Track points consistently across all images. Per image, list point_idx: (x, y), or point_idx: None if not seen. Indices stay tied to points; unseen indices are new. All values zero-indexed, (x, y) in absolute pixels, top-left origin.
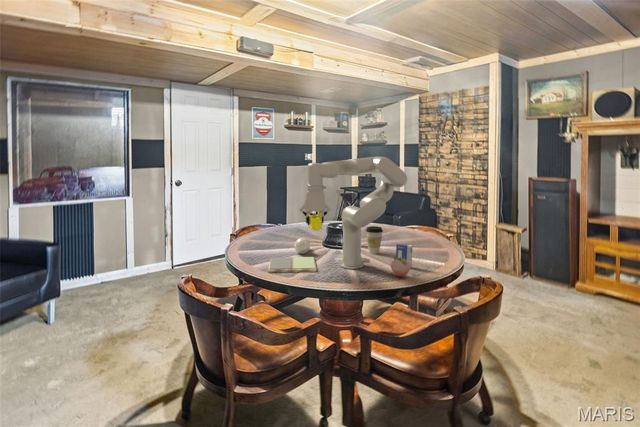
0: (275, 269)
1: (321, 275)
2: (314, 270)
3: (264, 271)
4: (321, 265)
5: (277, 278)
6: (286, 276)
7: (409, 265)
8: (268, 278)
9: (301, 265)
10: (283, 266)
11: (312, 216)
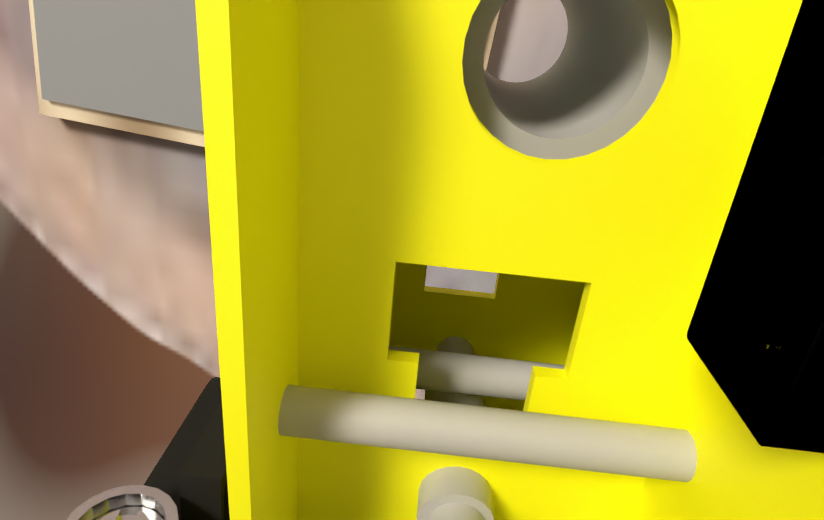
0: (101, 110)
1: (468, 284)
2: None
3: (16, 71)
4: (561, 15)
5: (140, 264)
6: (205, 240)
7: None
8: (75, 248)
9: None
10: (166, 60)
11: (410, 438)
